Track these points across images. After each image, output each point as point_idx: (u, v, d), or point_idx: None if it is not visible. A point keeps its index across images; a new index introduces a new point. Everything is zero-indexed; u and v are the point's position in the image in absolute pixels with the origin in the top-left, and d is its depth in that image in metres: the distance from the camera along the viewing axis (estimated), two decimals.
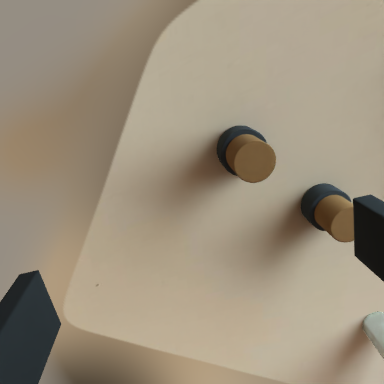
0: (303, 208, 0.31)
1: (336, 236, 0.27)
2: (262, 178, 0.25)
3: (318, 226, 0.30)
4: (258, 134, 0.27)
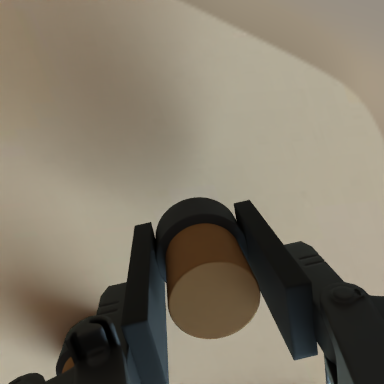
0: None
1: None
2: (178, 320, 0.11)
3: (63, 359, 0.18)
4: None
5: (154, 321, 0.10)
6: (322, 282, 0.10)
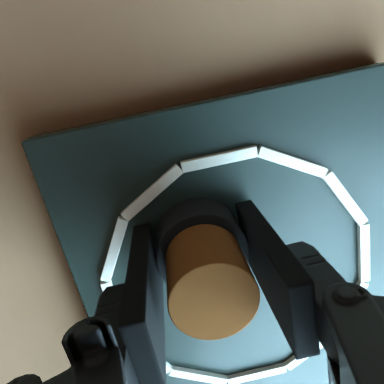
0: None
1: None
2: (177, 321, 0.11)
3: None
4: None
5: (152, 322, 0.10)
6: (325, 282, 0.10)
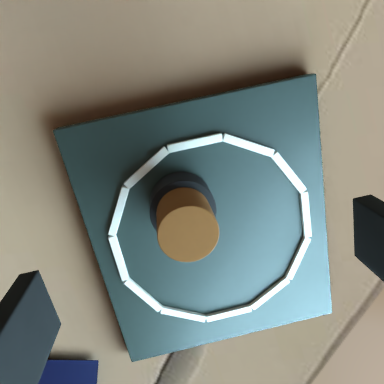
0: None
1: None
2: (163, 247, 0.17)
3: None
4: None
5: None
6: None
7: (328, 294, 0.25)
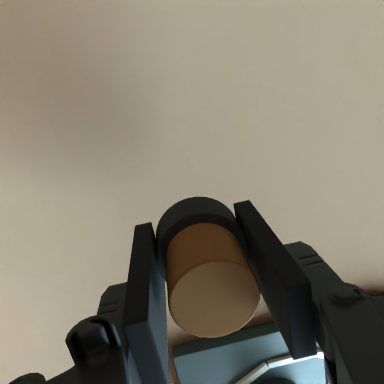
0: (196, 202, 0.15)
1: (186, 278, 0.11)
2: None
3: (168, 237, 0.14)
4: None
5: (155, 321, 0.10)
6: (322, 282, 0.10)
7: None
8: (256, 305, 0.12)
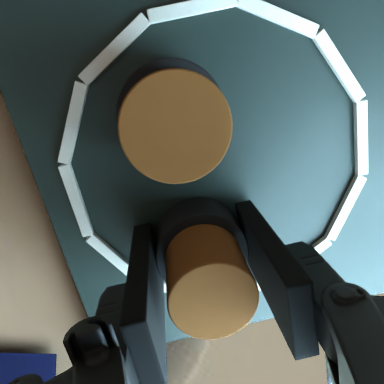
0: (196, 202, 0.15)
1: (185, 280, 0.11)
2: (131, 154, 0.09)
3: (167, 237, 0.14)
4: None
5: (153, 321, 0.10)
6: (324, 282, 0.10)
7: None
8: (255, 307, 0.11)
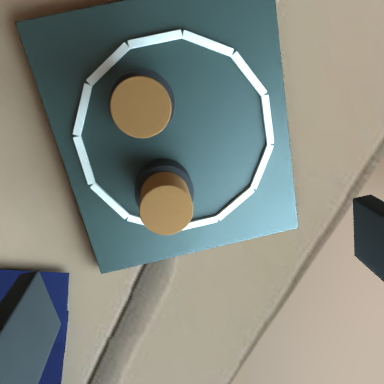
0: (161, 161, 0.23)
1: (149, 196, 0.19)
2: (117, 121, 0.17)
3: (142, 180, 0.22)
4: (168, 121, 0.21)
5: None
6: None
7: (293, 207, 0.26)
8: (191, 214, 0.20)
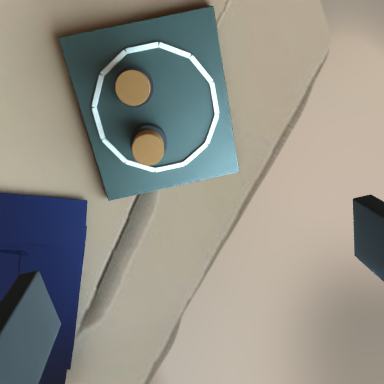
0: (146, 124, 0.36)
1: (137, 140, 0.32)
2: (119, 95, 0.31)
3: (134, 135, 0.35)
4: (150, 97, 0.34)
5: None
6: None
7: (235, 157, 0.39)
8: (162, 152, 0.33)
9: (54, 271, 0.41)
